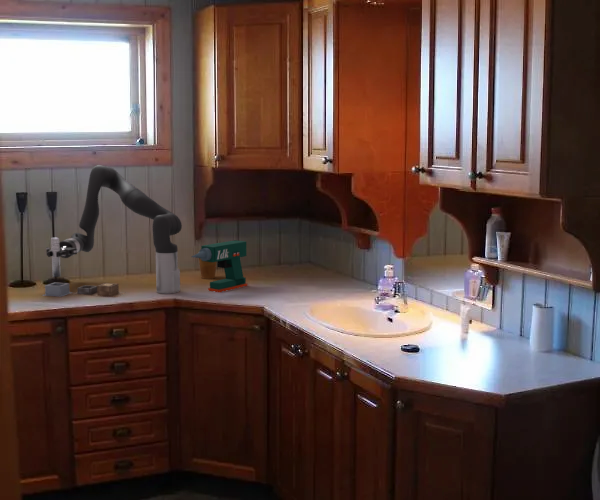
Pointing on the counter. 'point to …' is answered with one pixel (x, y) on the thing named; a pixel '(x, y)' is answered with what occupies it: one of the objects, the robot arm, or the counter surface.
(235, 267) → the power tool
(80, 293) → the socket block
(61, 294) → the gray square socket
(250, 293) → the counter surface
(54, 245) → the pale grey rod
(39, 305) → the counter surface
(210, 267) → the disposable coffee cup
